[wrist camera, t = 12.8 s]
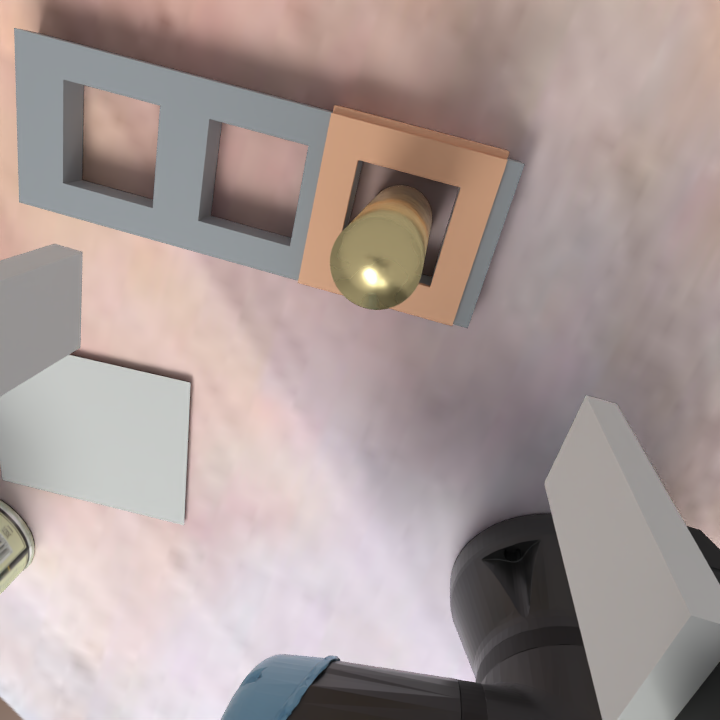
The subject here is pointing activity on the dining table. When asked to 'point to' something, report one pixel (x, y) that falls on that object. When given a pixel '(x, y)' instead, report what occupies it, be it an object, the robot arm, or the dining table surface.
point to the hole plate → (199, 162)
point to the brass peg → (383, 249)
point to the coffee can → (13, 545)
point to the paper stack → (99, 436)
